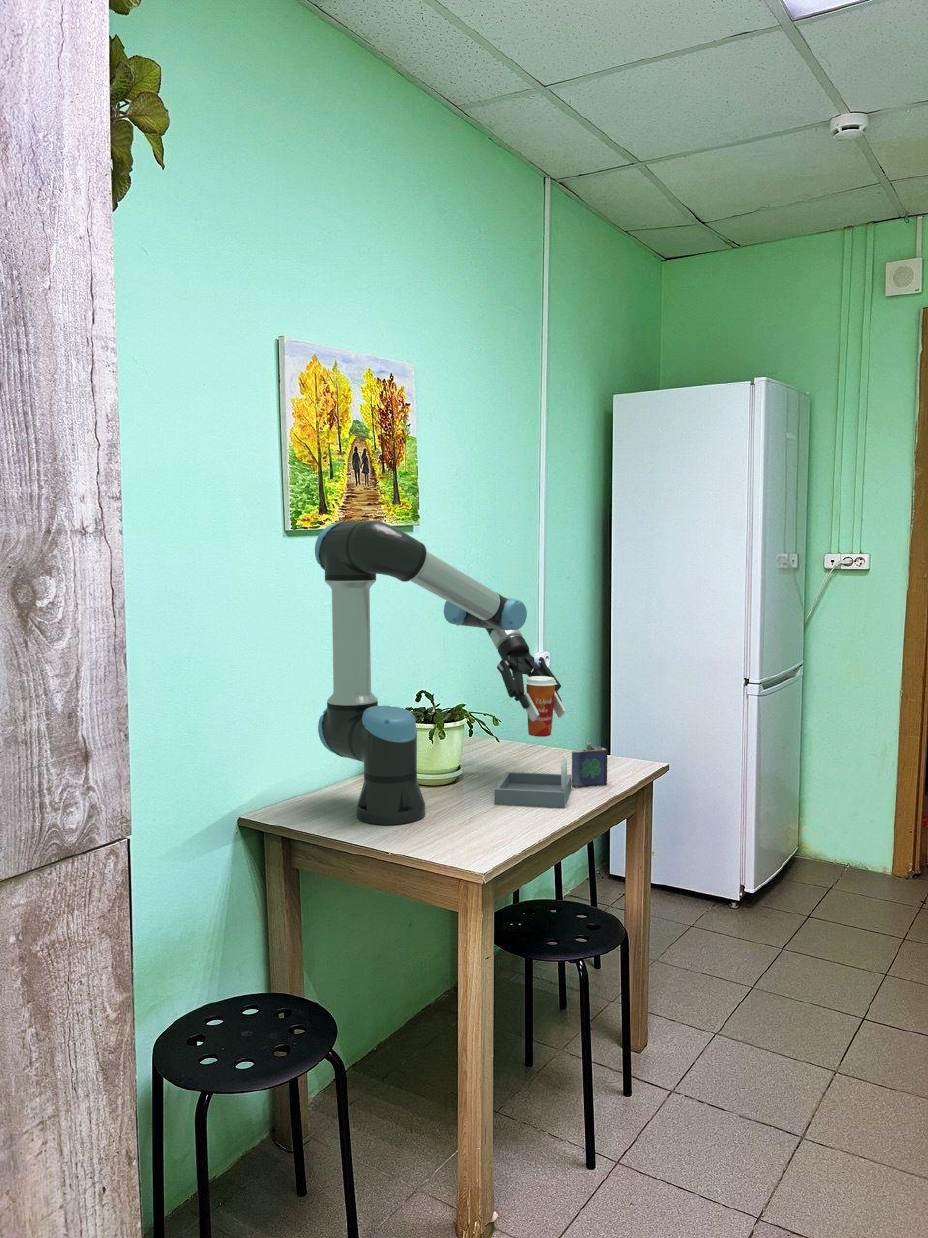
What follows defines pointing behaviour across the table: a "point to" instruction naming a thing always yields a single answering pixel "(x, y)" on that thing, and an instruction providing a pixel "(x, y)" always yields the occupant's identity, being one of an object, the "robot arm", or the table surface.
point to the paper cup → (541, 704)
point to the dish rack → (534, 788)
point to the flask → (589, 766)
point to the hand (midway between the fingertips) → (549, 716)
